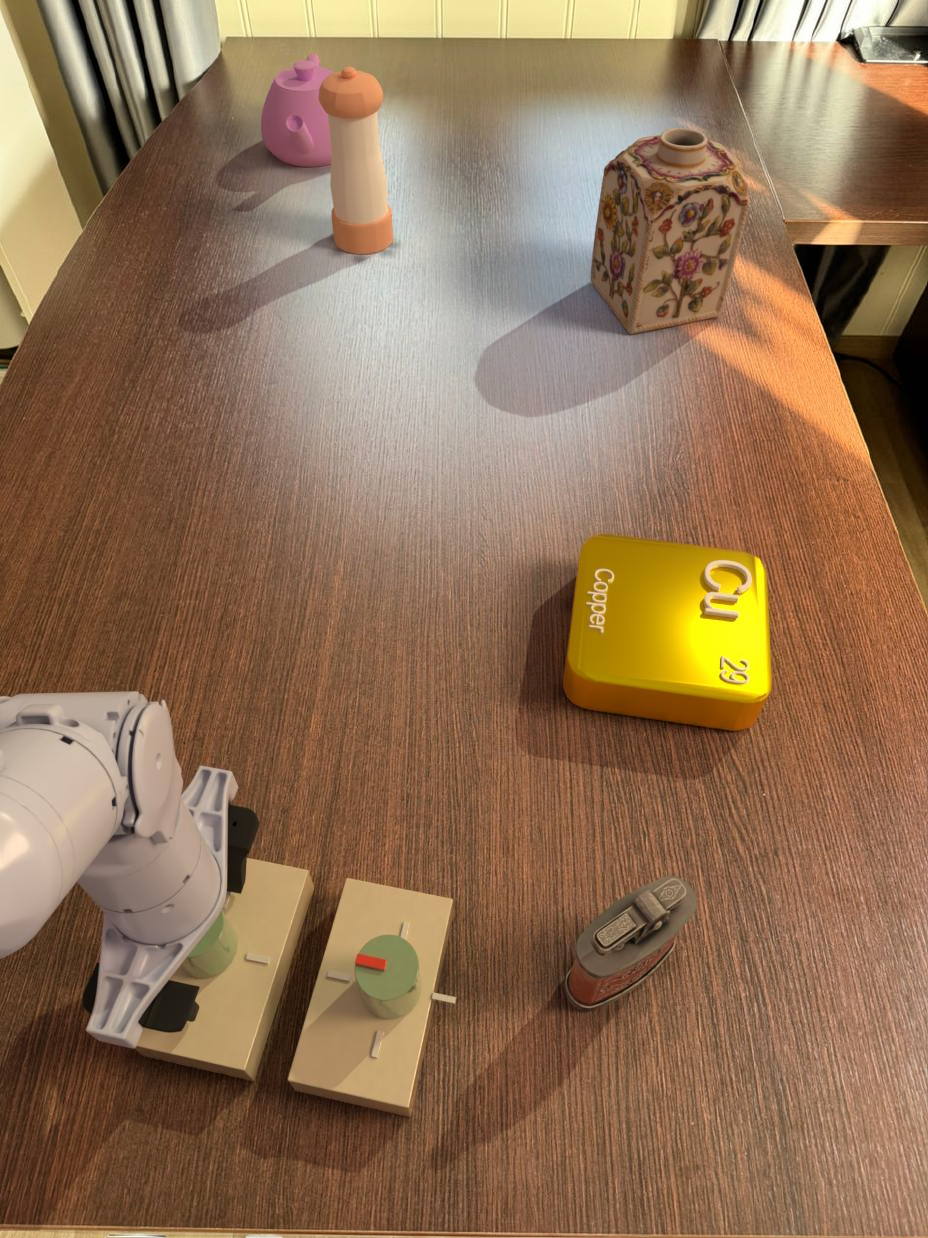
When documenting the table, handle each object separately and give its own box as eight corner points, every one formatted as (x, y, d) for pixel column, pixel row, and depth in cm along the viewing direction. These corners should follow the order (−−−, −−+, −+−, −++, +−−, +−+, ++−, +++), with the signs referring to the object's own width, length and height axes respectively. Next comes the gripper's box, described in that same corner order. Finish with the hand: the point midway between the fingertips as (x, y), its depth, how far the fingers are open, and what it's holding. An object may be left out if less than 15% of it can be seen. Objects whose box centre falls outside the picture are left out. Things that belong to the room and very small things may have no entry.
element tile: (577, 562, 78) (584, 524, 74) (753, 586, 76) (769, 548, 72) (559, 707, 69) (565, 672, 65) (758, 737, 67) (776, 702, 63)
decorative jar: (627, 337, 98) (655, 172, 84) (585, 281, 105) (605, 119, 90) (725, 318, 100) (768, 153, 86) (678, 263, 107) (711, 102, 93)
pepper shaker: (339, 221, 113) (321, 52, 97) (397, 224, 112) (387, 55, 97) (329, 252, 108) (307, 80, 93) (388, 256, 108) (377, 83, 93)
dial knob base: (434, 1123, 51) (433, 1113, 49) (294, 1091, 52) (286, 1080, 50) (474, 919, 59) (474, 901, 56) (350, 894, 60) (345, 876, 57)
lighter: (650, 908, 59) (679, 845, 51) (685, 952, 57) (720, 894, 49) (552, 977, 56) (567, 922, 49) (585, 1025, 55) (606, 976, 47)
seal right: (427, 963, 54) (425, 940, 51) (413, 1025, 52) (410, 1005, 48) (370, 950, 54) (364, 926, 51) (353, 1012, 52) (346, 991, 49)
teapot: (251, 184, 118) (235, 98, 110) (275, 117, 131) (262, 35, 122) (355, 186, 118) (347, 100, 110) (369, 118, 130) (363, 36, 122)
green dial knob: (246, 925, 55) (232, 900, 52) (225, 984, 53) (209, 962, 50) (191, 913, 56) (174, 887, 52) (168, 972, 54) (148, 949, 50)
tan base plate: (254, 1081, 53) (243, 1070, 50) (121, 1051, 54) (104, 1038, 51) (314, 887, 60) (308, 868, 57) (196, 863, 61) (185, 844, 58)
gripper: (127, 715, 48) (188, 824, 59) (-13, 991, 39) (89, 1060, 50) (252, 738, 47) (291, 844, 58) (138, 1025, 39) (208, 1088, 49)
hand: (205, 946), depth 54 cm, fingers open, 7 cm apart
